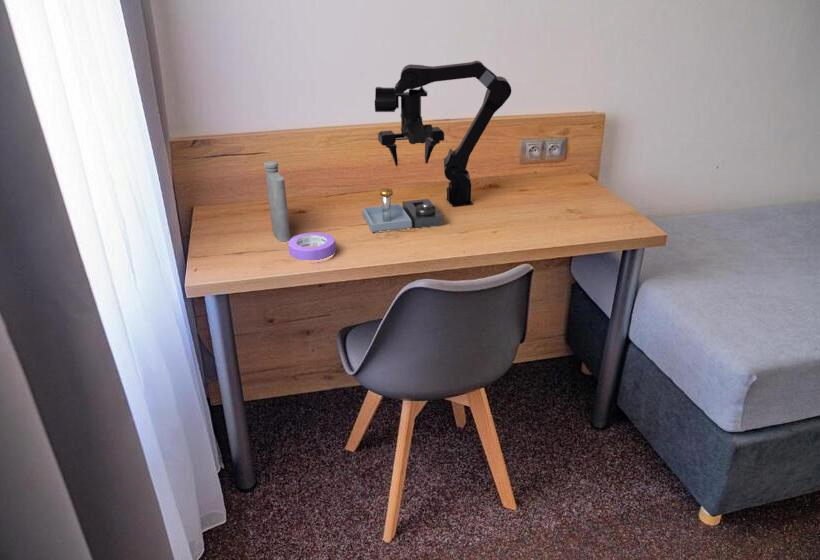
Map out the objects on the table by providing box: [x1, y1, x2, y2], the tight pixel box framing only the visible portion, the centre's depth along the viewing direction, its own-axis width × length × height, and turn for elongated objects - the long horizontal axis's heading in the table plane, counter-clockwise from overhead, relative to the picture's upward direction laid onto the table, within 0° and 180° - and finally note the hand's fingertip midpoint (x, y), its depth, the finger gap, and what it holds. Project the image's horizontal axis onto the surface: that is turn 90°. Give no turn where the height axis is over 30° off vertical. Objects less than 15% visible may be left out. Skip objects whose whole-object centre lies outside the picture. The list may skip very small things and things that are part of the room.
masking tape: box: [288, 231, 336, 261], centre depth 160 cm, size 12×12×4 cm
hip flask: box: [263, 160, 292, 242], centre depth 168 cm, size 16×4×20 cm, turn 18°
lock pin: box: [379, 187, 394, 222], centre depth 177 cm, size 4×4×9 cm
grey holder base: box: [401, 198, 444, 229], centre depth 180 cm, size 8×14×5 cm, turn 15°
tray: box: [362, 203, 413, 233], centre depth 178 cm, size 11×13×2 cm
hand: (411, 164), depth 187 cm, fingers open, 9 cm apart
